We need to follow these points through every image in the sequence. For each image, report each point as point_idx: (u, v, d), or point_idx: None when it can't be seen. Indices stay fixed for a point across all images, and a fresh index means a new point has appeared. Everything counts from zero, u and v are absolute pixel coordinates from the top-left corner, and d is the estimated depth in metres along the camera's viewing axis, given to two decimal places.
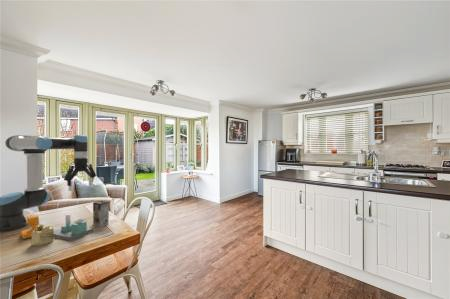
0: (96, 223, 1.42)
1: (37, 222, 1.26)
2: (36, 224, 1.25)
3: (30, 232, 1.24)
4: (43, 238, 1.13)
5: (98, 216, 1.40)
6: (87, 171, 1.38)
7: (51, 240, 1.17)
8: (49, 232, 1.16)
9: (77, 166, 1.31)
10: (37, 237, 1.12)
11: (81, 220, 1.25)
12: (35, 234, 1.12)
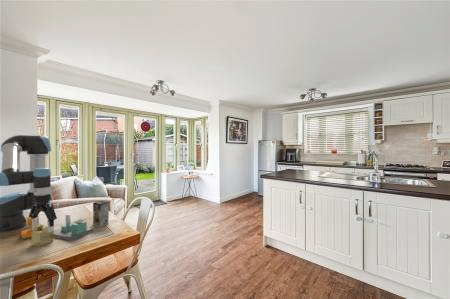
0: (96, 223, 1.42)
1: None
2: None
3: (30, 232, 1.24)
4: (43, 238, 1.13)
5: (98, 216, 1.40)
6: (44, 212, 1.13)
7: (51, 240, 1.17)
8: (49, 232, 1.16)
9: (36, 203, 1.15)
10: (37, 237, 1.12)
11: (81, 220, 1.25)
12: (35, 234, 1.12)
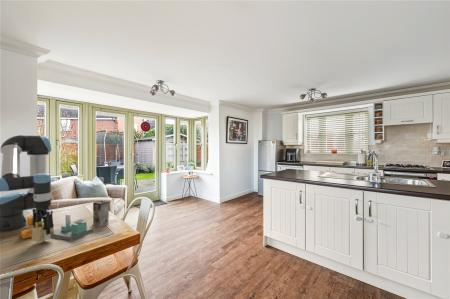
0: (96, 223, 1.42)
1: None
2: None
3: (30, 232, 1.24)
4: (43, 234, 1.13)
5: (98, 216, 1.40)
6: (42, 218, 1.14)
7: (51, 236, 1.17)
8: None
9: (36, 209, 1.16)
10: (37, 233, 1.12)
11: (81, 220, 1.25)
12: (35, 230, 1.13)
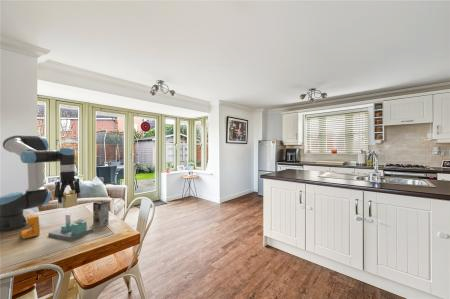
0: (96, 223, 1.42)
1: (37, 222, 1.26)
2: (36, 224, 1.25)
3: (30, 232, 1.24)
4: None
5: (98, 216, 1.40)
6: (72, 186, 1.30)
7: None
8: None
9: (63, 180, 1.25)
10: (74, 198, 1.29)
11: (81, 220, 1.25)
12: (71, 196, 1.28)
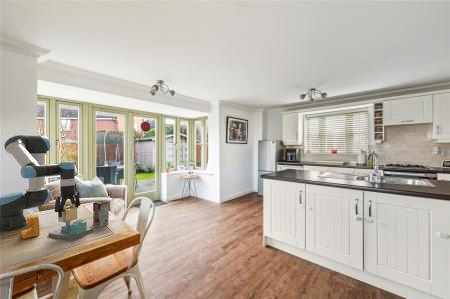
0: (96, 223, 1.42)
1: (37, 222, 1.26)
2: (36, 224, 1.25)
3: (30, 232, 1.24)
4: None
5: (98, 216, 1.40)
6: (72, 200, 1.31)
7: None
8: None
9: (63, 194, 1.25)
10: (74, 212, 1.29)
11: (81, 220, 1.25)
12: (71, 210, 1.28)
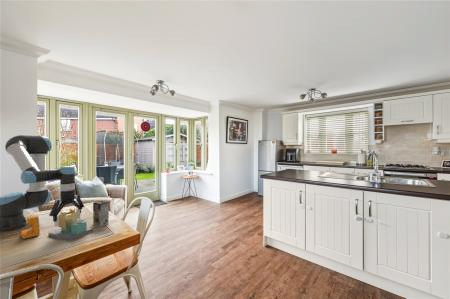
0: (96, 223, 1.42)
1: (37, 222, 1.26)
2: (36, 224, 1.25)
3: (30, 232, 1.24)
4: None
5: (98, 216, 1.40)
6: (74, 203, 1.32)
7: None
8: None
9: (63, 199, 1.25)
10: (74, 218, 1.29)
11: (81, 220, 1.25)
12: (71, 216, 1.28)
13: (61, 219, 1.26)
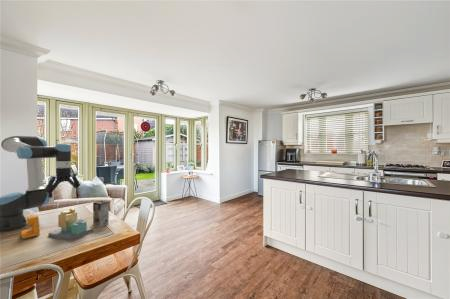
0: (96, 223, 1.42)
1: (37, 222, 1.26)
2: (36, 224, 1.25)
3: (30, 232, 1.24)
4: None
5: (98, 216, 1.40)
6: (70, 181, 1.32)
7: None
8: None
9: (59, 176, 1.25)
10: (74, 218, 1.29)
11: (81, 220, 1.25)
12: (71, 216, 1.28)
13: (61, 219, 1.26)
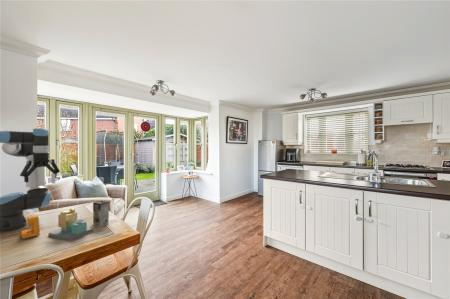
0: (96, 223, 1.42)
1: (37, 222, 1.26)
2: (36, 224, 1.25)
3: (30, 232, 1.24)
4: None
5: (98, 216, 1.40)
6: (48, 167, 1.30)
7: None
8: None
9: (36, 161, 1.24)
10: (74, 218, 1.29)
11: (81, 220, 1.25)
12: (71, 216, 1.28)
13: (61, 219, 1.26)
